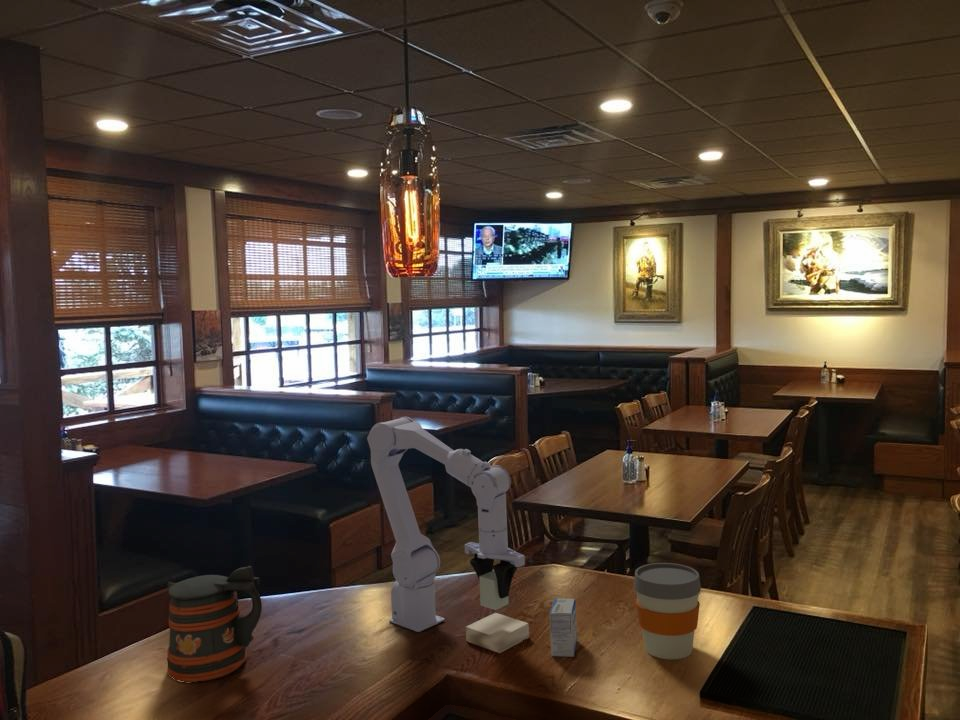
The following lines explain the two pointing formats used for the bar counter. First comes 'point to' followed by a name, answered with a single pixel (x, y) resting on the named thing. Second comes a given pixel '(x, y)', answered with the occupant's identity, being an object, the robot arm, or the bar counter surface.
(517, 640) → the birch block
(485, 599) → the sage block
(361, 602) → the bar counter surface
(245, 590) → the beer stein
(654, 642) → the reusable coffee cup
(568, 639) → the medicine box
